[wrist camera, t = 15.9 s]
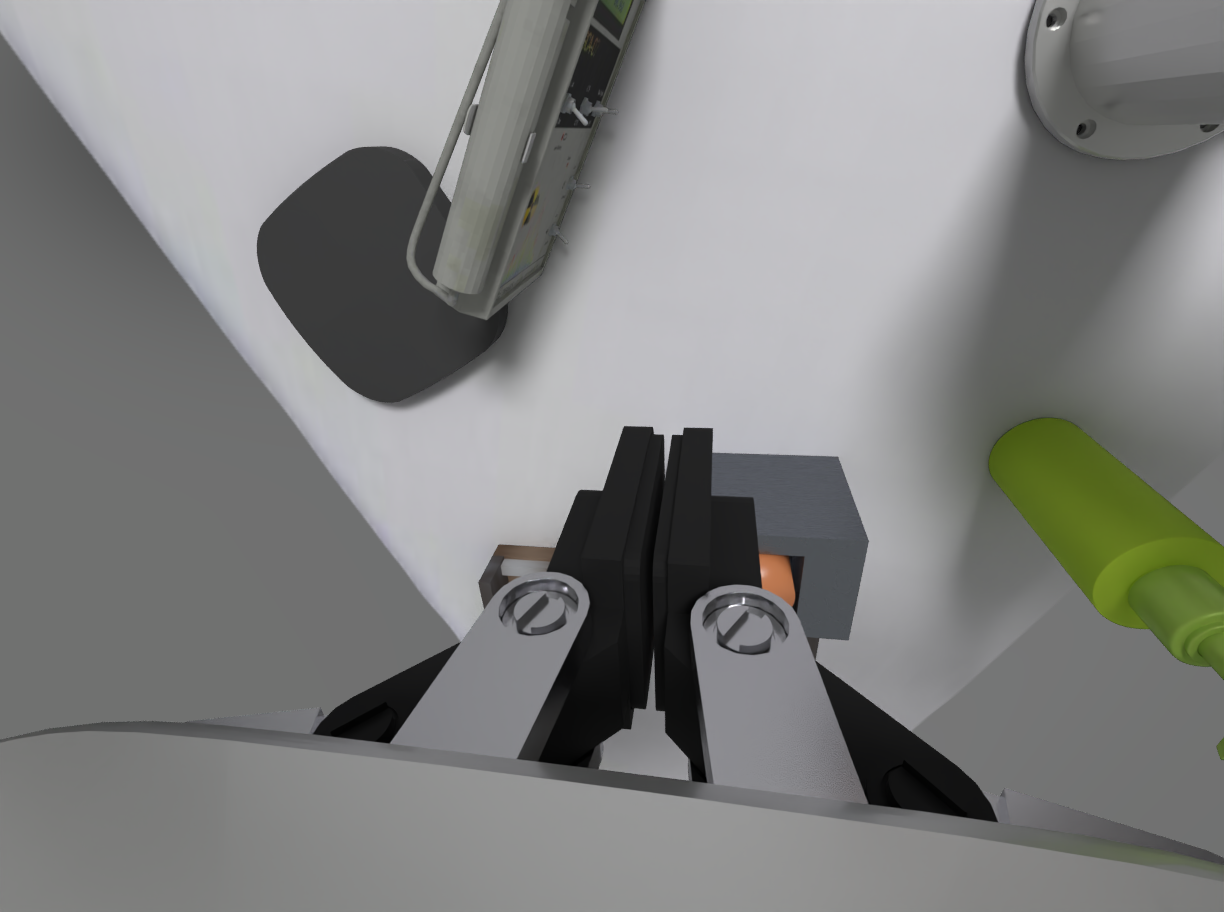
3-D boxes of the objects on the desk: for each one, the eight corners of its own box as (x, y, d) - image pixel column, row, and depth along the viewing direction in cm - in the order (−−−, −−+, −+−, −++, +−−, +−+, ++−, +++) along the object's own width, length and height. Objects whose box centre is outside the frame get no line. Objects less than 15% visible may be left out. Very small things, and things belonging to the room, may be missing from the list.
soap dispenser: (985, 508, 42) (1171, 771, 25) (990, 424, 39) (1205, 657, 22) (1079, 499, 40) (1347, 771, 23) (1092, 411, 37) (1411, 649, 20)
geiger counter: (482, 356, 27) (776, -483, 14) (357, 294, 27) (547, -631, 14) (553, 286, 39) (748, -205, 26) (468, 243, 39) (625, -279, 26)
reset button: (791, 528, 37) (798, 570, 34) (785, 580, 40) (791, 625, 36) (722, 524, 38) (723, 565, 35) (720, 575, 40) (720, 619, 37)
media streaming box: (530, 322, 41) (518, 335, 38) (387, 406, 46) (368, 422, 44) (400, 119, 36) (376, 118, 33) (257, 240, 41) (226, 248, 39)
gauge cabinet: (837, 456, 42) (868, 541, 33) (823, 549, 46) (847, 645, 37) (672, 451, 44) (661, 529, 35) (672, 541, 48) (662, 630, 39)
